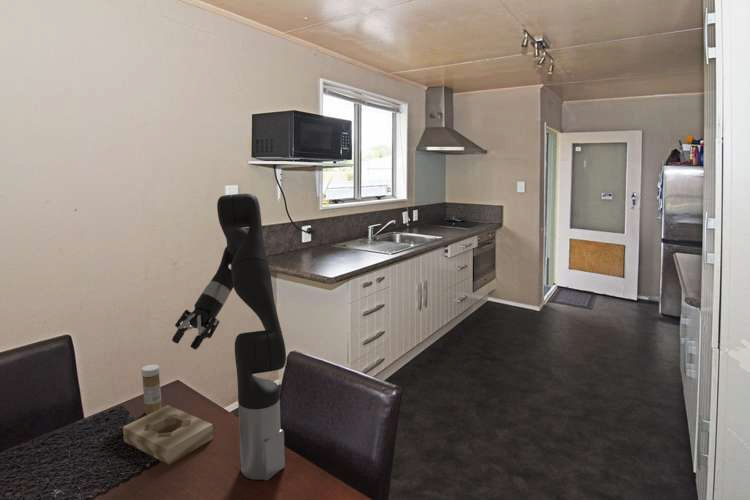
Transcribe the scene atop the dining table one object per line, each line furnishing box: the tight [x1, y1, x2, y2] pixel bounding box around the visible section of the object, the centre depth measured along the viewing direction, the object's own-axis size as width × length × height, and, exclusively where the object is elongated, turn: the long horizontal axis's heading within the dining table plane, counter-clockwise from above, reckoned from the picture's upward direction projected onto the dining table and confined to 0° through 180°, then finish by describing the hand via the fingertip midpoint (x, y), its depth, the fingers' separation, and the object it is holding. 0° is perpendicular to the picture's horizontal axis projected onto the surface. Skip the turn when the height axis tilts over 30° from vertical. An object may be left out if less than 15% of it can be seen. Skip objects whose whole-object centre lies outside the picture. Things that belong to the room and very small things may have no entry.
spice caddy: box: [122, 404, 214, 466], centre depth 122 cm, size 18×13×4 cm
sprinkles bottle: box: [140, 363, 163, 415], centre depth 135 cm, size 5×5×14 cm
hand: (183, 345), depth 143 cm, fingers open, 8 cm apart
